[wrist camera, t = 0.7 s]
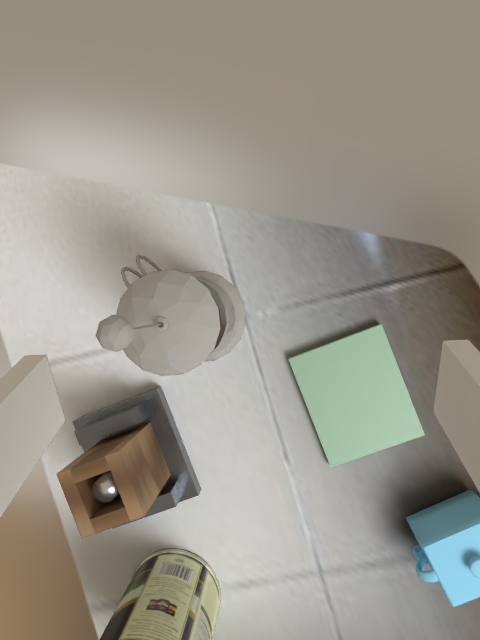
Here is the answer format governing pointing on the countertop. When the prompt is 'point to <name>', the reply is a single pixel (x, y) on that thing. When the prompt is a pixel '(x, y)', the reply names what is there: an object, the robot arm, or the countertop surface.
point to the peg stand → (167, 435)
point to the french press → (174, 320)
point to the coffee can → (168, 600)
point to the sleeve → (129, 474)
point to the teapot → (450, 545)
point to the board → (356, 395)
